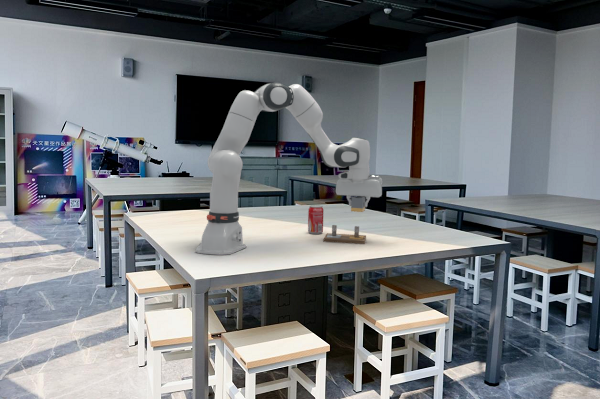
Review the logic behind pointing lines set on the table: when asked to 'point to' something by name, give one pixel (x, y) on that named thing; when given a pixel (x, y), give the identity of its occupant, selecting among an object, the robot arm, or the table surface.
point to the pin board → (345, 237)
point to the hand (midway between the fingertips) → (358, 206)
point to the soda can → (315, 219)
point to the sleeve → (357, 204)
